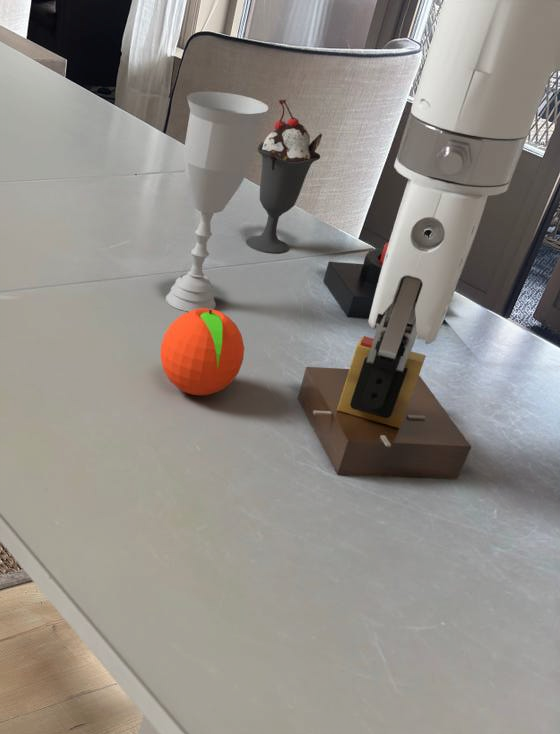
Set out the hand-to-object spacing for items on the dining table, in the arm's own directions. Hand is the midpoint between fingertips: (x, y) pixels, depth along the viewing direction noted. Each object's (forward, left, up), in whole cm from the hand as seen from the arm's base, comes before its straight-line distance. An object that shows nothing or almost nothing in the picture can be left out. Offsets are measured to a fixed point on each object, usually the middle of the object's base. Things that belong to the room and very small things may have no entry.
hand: (373, 403), depth 76 cm
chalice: (+9, -27, -4) cm, 29 cm away
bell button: (-13, -31, 0) cm, 34 cm away
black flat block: (-12, -30, -4) cm, 33 cm away
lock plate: (-2, -2, -4) cm, 5 cm away
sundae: (-3, -44, -4) cm, 44 cm away
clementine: (+12, -8, -4) cm, 15 cm away
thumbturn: (0, 0, -1) cm, 1 cm away
